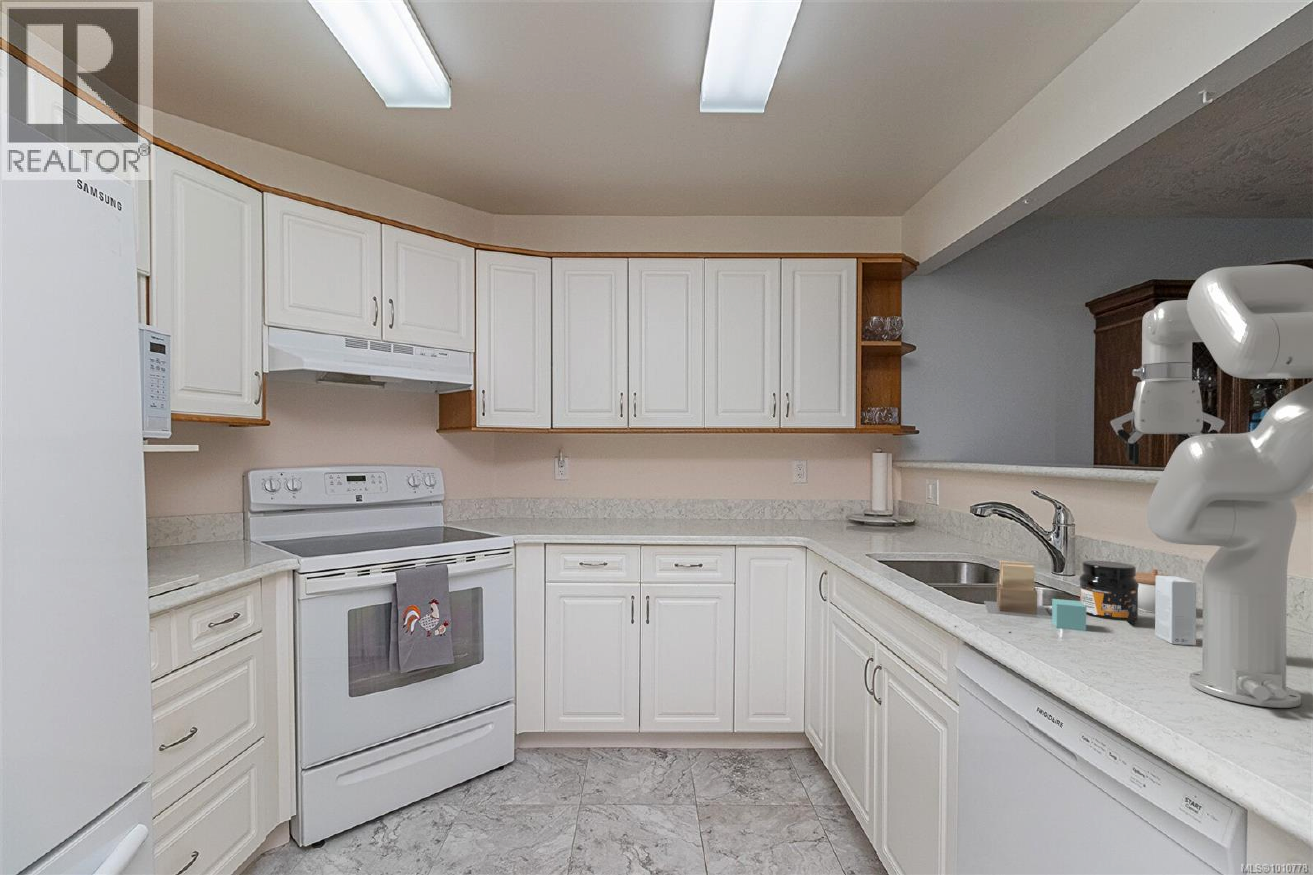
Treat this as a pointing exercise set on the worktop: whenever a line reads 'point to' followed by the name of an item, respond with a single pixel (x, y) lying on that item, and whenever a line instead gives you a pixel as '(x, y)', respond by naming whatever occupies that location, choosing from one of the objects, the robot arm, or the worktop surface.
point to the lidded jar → (1147, 590)
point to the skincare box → (1175, 610)
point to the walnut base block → (1016, 600)
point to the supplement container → (1109, 590)
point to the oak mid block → (1017, 575)
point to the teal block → (1069, 614)
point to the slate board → (994, 609)
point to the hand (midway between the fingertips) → (1165, 465)
